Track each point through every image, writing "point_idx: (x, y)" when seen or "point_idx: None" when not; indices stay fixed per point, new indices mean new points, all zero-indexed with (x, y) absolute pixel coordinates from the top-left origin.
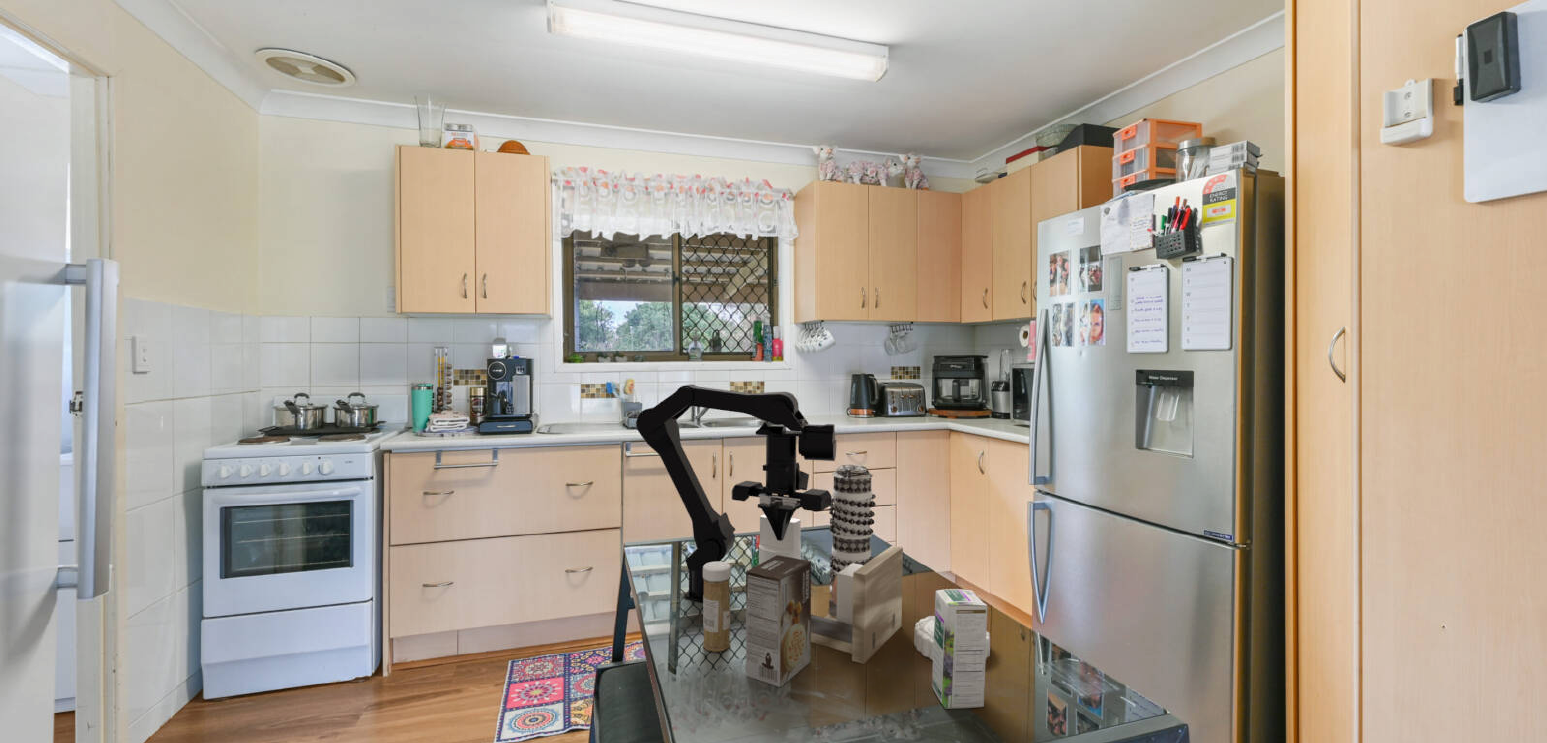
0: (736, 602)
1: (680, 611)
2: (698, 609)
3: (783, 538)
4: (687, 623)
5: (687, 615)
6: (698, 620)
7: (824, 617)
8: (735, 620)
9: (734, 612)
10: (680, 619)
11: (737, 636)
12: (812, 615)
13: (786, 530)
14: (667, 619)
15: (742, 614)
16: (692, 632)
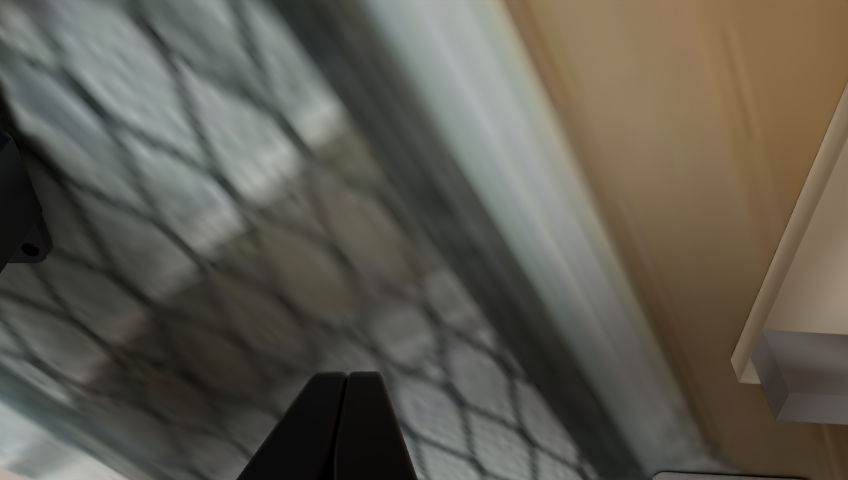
0: (147, 155)
1: (9, 365)
2: (56, 316)
3: (385, 390)
4: (149, 432)
5: (77, 382)
6: (164, 397)
7: (829, 187)
8: (315, 334)
9: (243, 268)
10: (90, 418)
11: (426, 435)
12: (809, 400)
13: (414, 476)
14: (45, 437)
15: (299, 269)
16: (235, 473)
